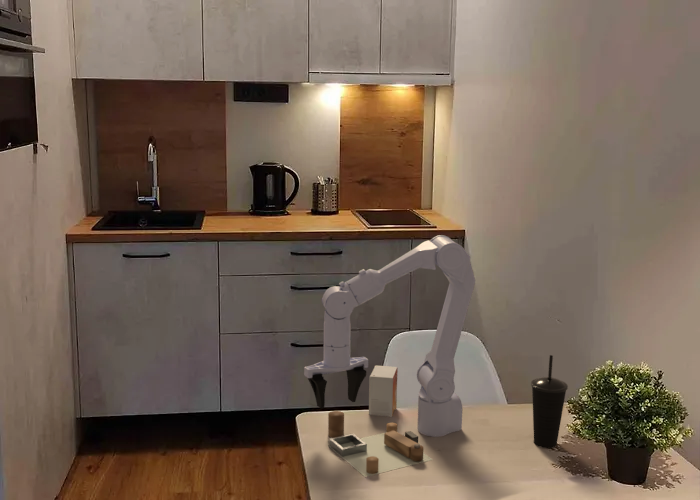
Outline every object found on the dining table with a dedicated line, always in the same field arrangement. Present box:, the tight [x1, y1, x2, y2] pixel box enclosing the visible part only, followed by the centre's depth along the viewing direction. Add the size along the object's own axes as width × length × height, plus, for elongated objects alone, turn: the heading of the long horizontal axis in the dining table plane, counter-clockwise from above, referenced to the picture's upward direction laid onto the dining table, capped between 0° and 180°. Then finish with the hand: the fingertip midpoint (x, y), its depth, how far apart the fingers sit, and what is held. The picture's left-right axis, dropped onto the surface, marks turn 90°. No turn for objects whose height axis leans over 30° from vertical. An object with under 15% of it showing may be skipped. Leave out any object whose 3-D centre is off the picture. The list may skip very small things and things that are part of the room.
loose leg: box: [327, 410, 345, 439], centre depth 173 cm, size 3×3×6 cm
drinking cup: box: [530, 354, 569, 449], centre depth 171 cm, size 8×8×20 cm
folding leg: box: [383, 430, 425, 461], centre depth 165 cm, size 10×3×3 cm, turn 36°
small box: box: [368, 365, 399, 418], centre depth 186 cm, size 8×6×10 cm
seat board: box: [328, 422, 434, 478], centre depth 165 cm, size 16×16×4 cm
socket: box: [328, 433, 367, 458], centre depth 166 cm, size 6×6×2 cm
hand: (336, 403), depth 172 cm, fingers open, 7 cm apart
